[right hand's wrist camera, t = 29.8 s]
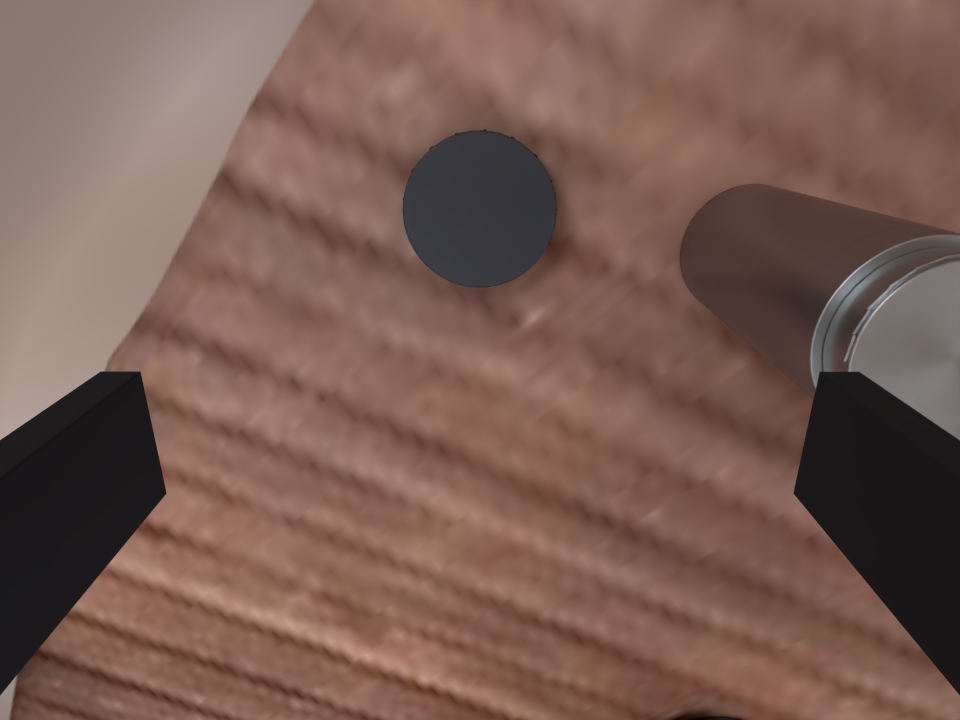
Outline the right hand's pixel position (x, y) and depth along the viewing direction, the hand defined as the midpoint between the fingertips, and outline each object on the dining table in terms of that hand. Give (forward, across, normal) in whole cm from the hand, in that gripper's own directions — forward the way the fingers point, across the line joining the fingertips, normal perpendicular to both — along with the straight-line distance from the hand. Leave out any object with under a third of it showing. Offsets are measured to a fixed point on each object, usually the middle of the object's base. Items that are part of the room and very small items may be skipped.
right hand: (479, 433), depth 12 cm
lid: (+28, 0, 0) cm, 28 cm away
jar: (+30, +18, -3) cm, 35 cm away
